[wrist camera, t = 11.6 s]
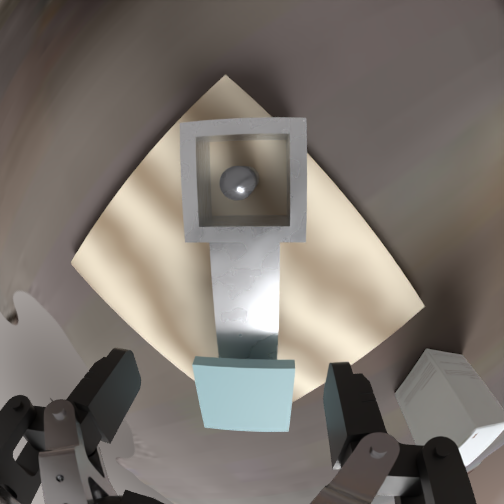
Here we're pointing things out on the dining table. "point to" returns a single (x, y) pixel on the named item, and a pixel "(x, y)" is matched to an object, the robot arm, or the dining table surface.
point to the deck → (199, 265)
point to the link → (243, 232)
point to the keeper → (245, 393)
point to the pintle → (238, 182)
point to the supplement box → (450, 404)
